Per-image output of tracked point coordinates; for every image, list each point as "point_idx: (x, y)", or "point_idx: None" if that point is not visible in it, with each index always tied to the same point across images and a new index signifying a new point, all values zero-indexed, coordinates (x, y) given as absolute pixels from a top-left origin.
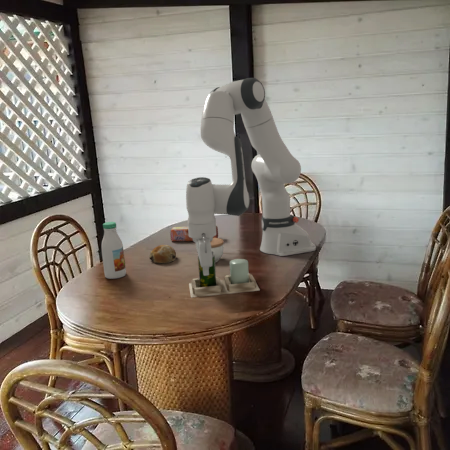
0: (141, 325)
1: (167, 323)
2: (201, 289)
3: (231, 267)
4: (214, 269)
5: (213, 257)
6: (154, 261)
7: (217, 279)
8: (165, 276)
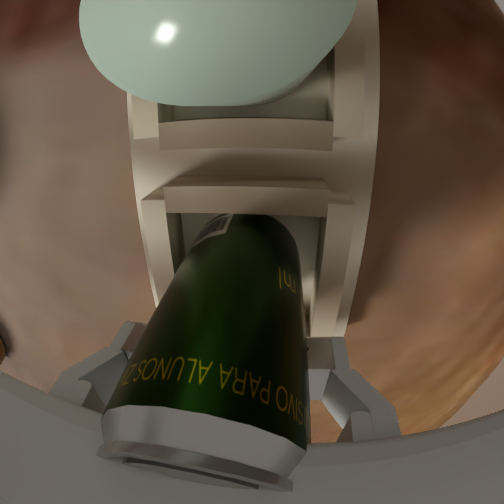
0: (424, 418)
1: (456, 379)
2: (335, 314)
3: (278, 90)
4: (270, 295)
5: (267, 423)
6: (4, 356)
7: (202, 204)
8: (75, 359)
